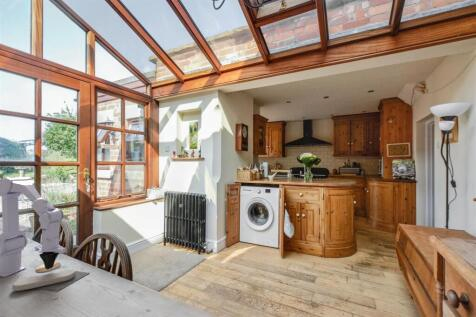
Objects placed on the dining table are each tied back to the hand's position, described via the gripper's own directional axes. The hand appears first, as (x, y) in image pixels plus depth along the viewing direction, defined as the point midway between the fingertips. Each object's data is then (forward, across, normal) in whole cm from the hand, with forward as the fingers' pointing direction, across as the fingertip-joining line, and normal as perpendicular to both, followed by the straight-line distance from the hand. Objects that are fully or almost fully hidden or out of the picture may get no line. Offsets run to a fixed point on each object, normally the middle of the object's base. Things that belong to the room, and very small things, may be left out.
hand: (49, 268), depth 91 cm
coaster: (+4, -10, +7) cm, 13 cm away
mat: (+4, +8, 0) cm, 9 cm away
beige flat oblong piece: (+3, 0, -1) cm, 3 cm away
